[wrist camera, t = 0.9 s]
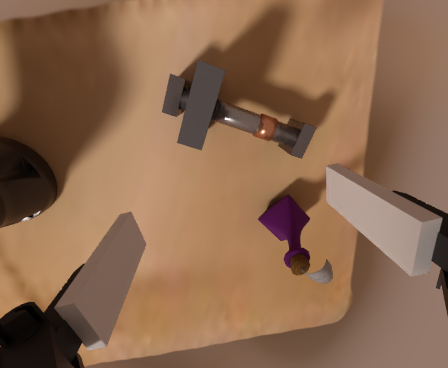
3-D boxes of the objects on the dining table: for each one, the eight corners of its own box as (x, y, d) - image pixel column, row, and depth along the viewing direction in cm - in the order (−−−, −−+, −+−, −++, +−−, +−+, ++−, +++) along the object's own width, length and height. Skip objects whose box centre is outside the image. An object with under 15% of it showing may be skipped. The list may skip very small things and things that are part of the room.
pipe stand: (170, 109, 35) (161, 112, 29) (177, 77, 33) (169, 73, 27) (287, 149, 39) (302, 159, 33) (299, 122, 37) (317, 127, 31)
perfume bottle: (276, 231, 46) (313, 307, 30) (254, 210, 44) (281, 280, 27) (303, 210, 45) (359, 278, 28) (282, 187, 42) (330, 247, 26)
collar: (186, 128, 36) (177, 142, 25) (201, 71, 32) (198, 59, 22) (204, 134, 36) (201, 150, 25) (220, 78, 33) (225, 70, 22)
